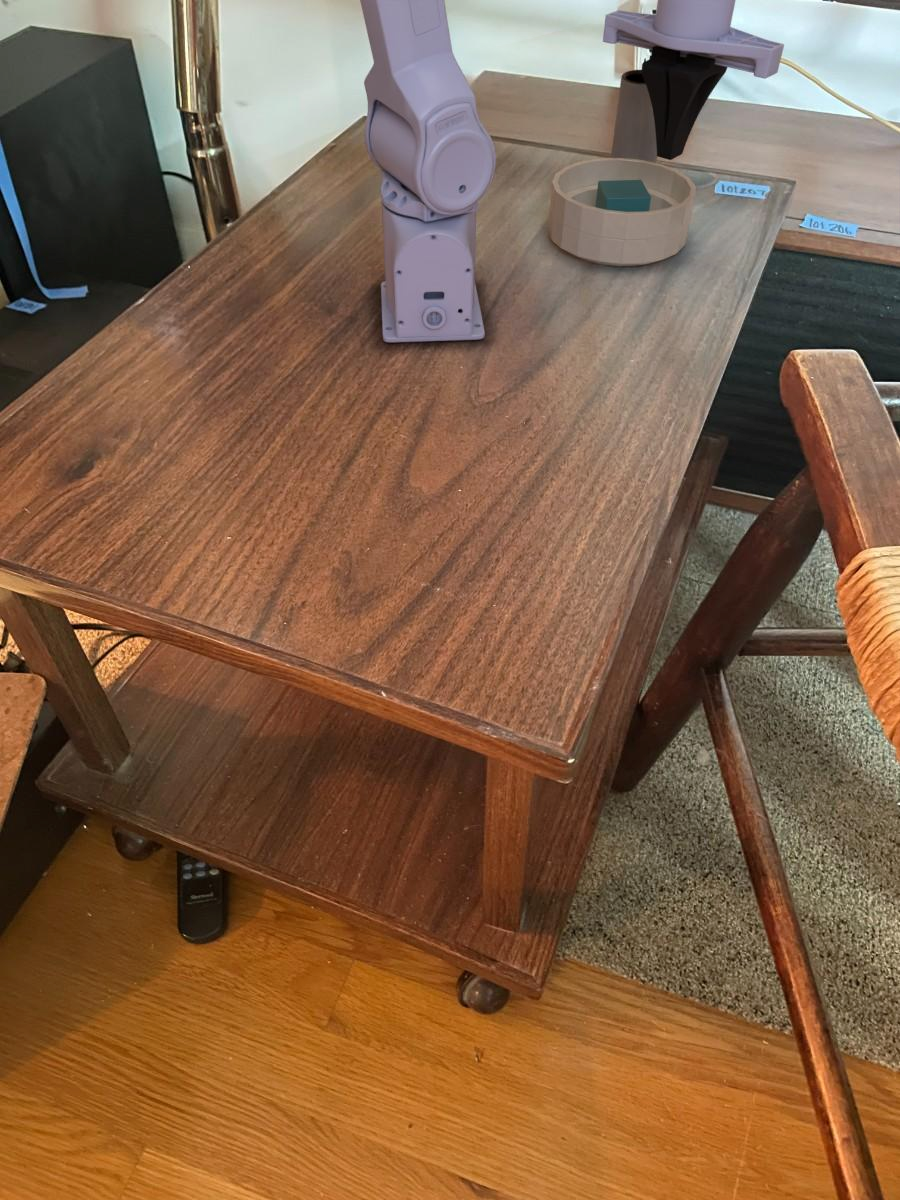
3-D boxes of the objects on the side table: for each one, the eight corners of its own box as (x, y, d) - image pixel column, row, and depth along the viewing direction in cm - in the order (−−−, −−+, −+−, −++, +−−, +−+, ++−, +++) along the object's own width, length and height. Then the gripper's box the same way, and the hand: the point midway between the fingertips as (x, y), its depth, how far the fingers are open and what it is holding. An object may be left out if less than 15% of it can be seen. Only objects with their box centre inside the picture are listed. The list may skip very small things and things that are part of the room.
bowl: (700, 268, 78) (712, 211, 75) (559, 273, 78) (565, 215, 74) (666, 209, 87) (675, 156, 84) (539, 213, 86) (543, 159, 83)
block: (644, 242, 81) (651, 197, 78) (600, 243, 81) (606, 198, 78) (634, 223, 84) (641, 179, 81) (592, 224, 83) (598, 180, 80)
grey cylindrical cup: (597, 188, 91) (611, 75, 83) (627, 177, 93) (643, 66, 85) (631, 201, 88) (648, 87, 81) (660, 190, 90) (680, 77, 83)
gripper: (820, -36, 64) (770, 163, 73) (647, -63, 70) (623, 122, 80) (775, -18, 60) (729, 188, 70) (597, -49, 66) (577, 143, 76)
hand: (669, 155), depth 75 cm, fingers closed
